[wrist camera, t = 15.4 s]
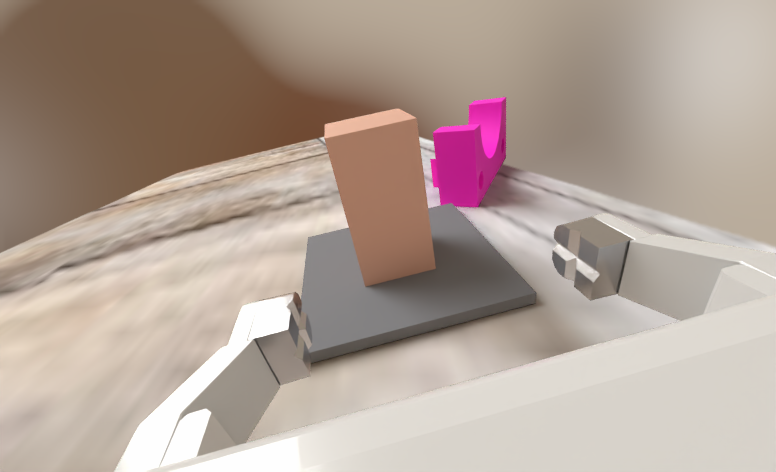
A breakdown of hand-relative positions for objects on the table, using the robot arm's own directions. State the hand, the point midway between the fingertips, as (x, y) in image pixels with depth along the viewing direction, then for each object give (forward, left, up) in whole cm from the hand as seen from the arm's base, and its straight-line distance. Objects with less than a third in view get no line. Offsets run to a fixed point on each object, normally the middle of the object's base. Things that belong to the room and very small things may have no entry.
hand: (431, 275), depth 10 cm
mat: (0, +12, -8) cm, 14 cm away
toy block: (+11, +26, -8) cm, 30 cm away
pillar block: (0, +12, -7) cm, 14 cm away
